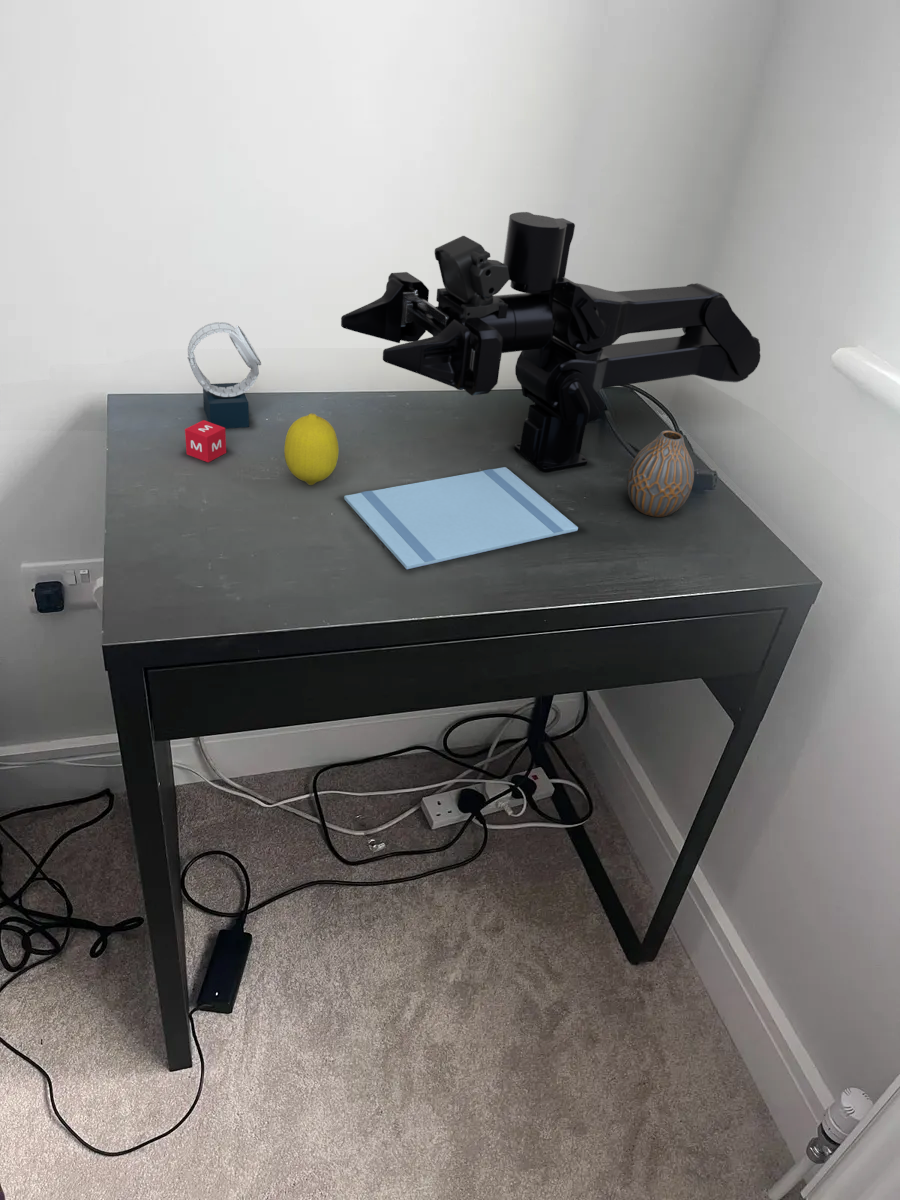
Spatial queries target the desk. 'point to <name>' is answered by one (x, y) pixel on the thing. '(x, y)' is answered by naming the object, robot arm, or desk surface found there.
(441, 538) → the cloth
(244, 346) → the watch
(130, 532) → the desk surface
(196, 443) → the red letter cube
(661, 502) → the vase
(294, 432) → the lemon
